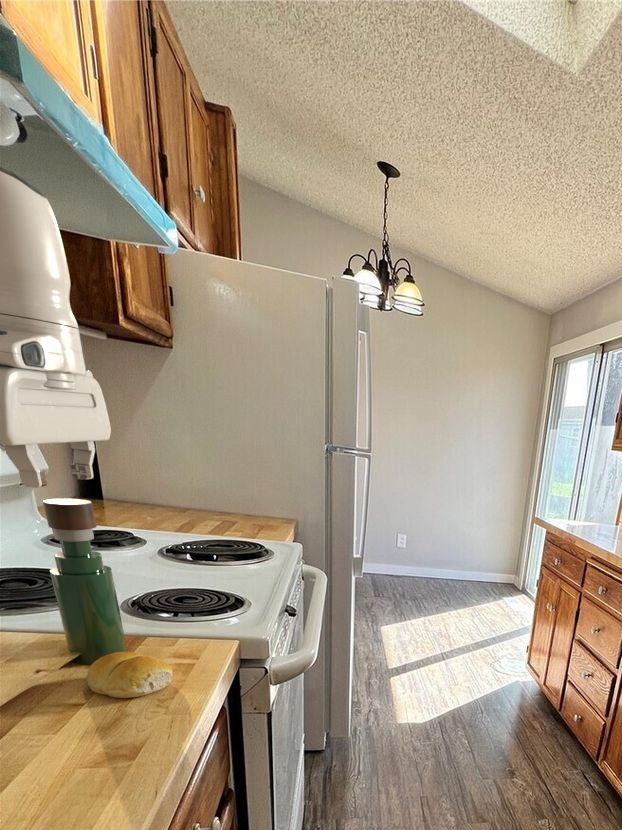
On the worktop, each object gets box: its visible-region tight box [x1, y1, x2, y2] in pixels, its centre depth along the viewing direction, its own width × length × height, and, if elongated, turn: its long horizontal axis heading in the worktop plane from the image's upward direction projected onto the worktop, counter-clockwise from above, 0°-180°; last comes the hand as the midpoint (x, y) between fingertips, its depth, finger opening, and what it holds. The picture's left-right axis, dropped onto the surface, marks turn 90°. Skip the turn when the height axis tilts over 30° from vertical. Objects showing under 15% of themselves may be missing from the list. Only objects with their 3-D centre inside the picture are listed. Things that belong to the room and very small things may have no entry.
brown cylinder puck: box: [42, 498, 98, 530], centre depth 69 cm, size 5×5×3 cm
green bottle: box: [49, 528, 128, 665], centre depth 73 cm, size 6×6×18 cm
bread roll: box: [86, 651, 173, 699], centre depth 69 cm, size 8×9×4 cm
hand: (61, 482), depth 67 cm, fingers open, 8 cm apart
